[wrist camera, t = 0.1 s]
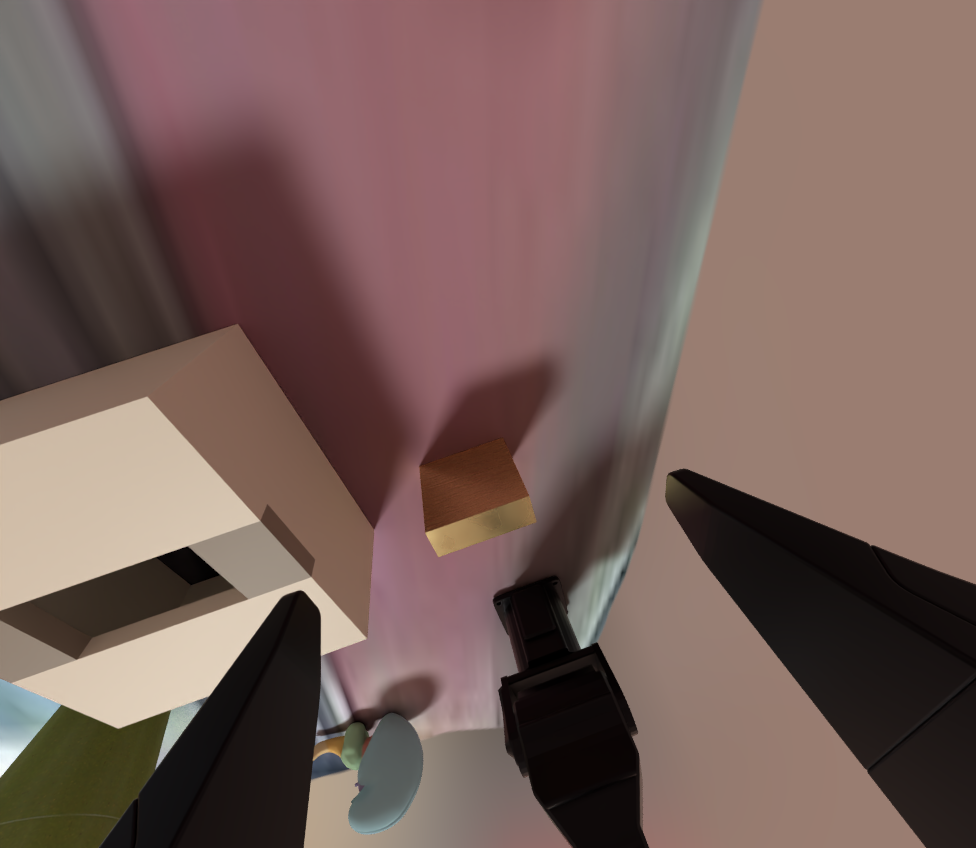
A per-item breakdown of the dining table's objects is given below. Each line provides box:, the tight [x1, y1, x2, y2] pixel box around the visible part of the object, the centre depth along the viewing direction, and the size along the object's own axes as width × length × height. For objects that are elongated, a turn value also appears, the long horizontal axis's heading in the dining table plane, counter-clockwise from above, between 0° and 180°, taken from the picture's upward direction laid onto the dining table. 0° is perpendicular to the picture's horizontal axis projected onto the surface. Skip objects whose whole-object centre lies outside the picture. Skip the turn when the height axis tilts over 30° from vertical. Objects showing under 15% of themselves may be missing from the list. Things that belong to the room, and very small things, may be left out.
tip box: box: [0, 324, 374, 729], centre depth 19 cm, size 16×14×8 cm
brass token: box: [419, 438, 536, 557], centre depth 23 cm, size 2×6×6 cm, turn 105°
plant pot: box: [0, 705, 171, 848], centre depth 26 cm, size 12×12×11 cm
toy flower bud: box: [313, 713, 423, 834], centre depth 39 cm, size 7×9×12 cm
